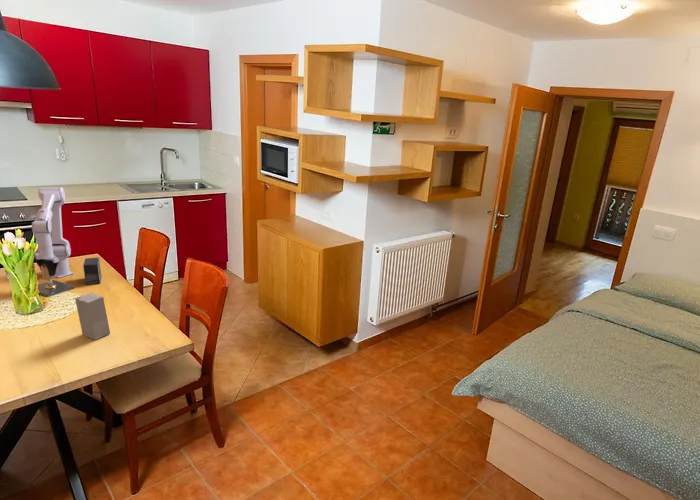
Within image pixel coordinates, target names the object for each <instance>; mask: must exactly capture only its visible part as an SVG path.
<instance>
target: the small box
mask: <svg viewBox="0 0 700 500" xmlns="http://www.w3.org/2000/svg"><path fill="white" fill-rule="evenodd" d="M100 261H101V260H100V257H89V258H85V259H84V263H83V266H82V267H83V272H84V273H83V274H84V280H85V281H84V282H85V285H86V286H91V285H101V283H102V282H101V280H102V276H103V275H102V270H101V262H100Z"/></svg>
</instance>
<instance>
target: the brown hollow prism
mask: <svg viewBox="0 0 700 500" xmlns="http://www.w3.org/2000/svg"><path fill="white" fill-rule="evenodd" d="M40 271H42V272H41V278H42V279H44V280H47V279H52V280H53V279H55V278H57V277H56V275H54V276H50V275H49V272H48V269H47V267H46V265H45V264H43V265H41V270H40Z"/></svg>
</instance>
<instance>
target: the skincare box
mask: <svg viewBox="0 0 700 500" xmlns="http://www.w3.org/2000/svg"><path fill="white" fill-rule="evenodd" d="M74 299H75V305H76V309H77V314H78V319H79V324H80V329H81V334H82V335H83V336H86V337H88V338H89V339H90V340H91V339H92V340H94V341H95V340H98V339H101V338H103V337H106V336H108V335H110V334H111V331H110V330H111V329H110V326H109V325H110V324H109V319H108V315H107V308H106V306H105V304H106V303H105V299H104V296H102V295H99V294H96V293H94V292H89V293H85V294H83V295H80V296H77V297H75V298H74Z"/></svg>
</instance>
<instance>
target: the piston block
mask: <svg viewBox="0 0 700 500" xmlns="http://www.w3.org/2000/svg"><path fill="white" fill-rule="evenodd" d="M46 280H47V281H45V282H42V283H38V284H37V285H38V290H39V292H40V294H39V295H42V296H45V297H48V298H49V297H52V296H56V295H57V294H61V293H64V292H67V291H70V290H74V289H75V286H73V285H72V284H67V283H64V282H61V281H58V280H55V279H53V278H52V279H46Z"/></svg>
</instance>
